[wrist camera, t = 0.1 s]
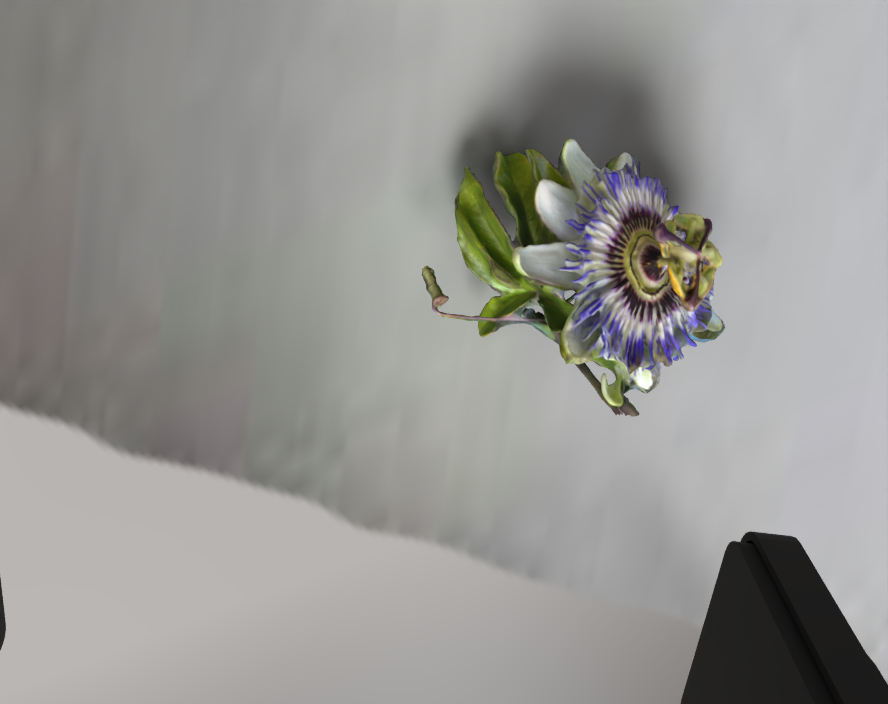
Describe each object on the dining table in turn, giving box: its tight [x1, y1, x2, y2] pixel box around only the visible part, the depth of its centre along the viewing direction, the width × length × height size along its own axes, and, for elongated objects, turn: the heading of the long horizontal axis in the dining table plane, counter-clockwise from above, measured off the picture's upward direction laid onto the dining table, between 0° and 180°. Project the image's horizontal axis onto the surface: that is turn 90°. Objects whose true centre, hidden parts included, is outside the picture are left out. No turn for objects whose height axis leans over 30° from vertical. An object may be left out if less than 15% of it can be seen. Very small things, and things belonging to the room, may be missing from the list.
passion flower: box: [422, 139, 725, 416], centre depth 38 cm, size 11×11×12 cm
